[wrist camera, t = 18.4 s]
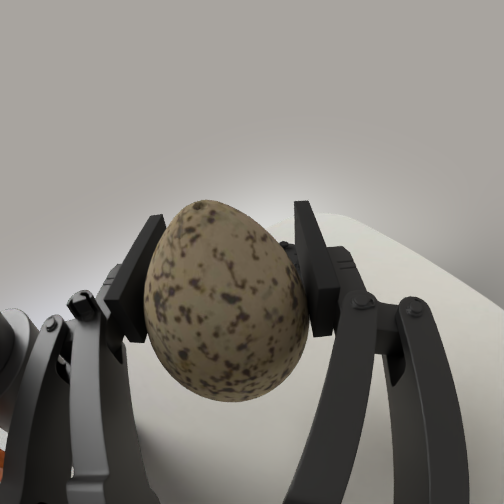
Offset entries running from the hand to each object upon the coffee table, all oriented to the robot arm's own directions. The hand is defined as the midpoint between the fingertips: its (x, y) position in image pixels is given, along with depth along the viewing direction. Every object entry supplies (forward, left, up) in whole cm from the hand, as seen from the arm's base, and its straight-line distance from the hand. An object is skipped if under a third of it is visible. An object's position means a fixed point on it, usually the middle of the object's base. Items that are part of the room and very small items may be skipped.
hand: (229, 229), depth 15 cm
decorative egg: (-2, -4, -6) cm, 8 cm away
